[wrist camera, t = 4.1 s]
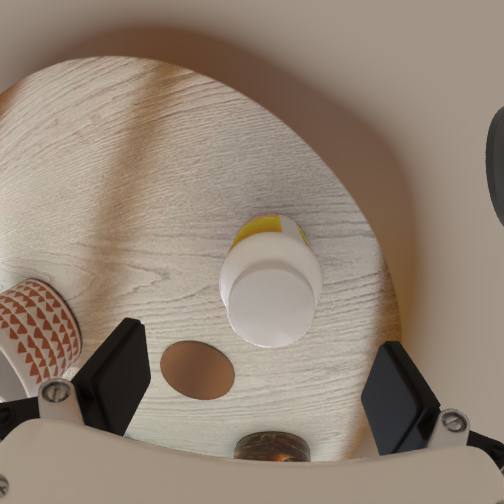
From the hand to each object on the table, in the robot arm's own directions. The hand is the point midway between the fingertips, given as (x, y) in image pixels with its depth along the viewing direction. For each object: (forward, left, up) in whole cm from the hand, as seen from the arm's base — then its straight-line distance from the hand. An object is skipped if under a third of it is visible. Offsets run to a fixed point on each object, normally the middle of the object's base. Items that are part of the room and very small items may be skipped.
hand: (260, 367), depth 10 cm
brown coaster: (+7, +16, -17) cm, 24 cm away
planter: (+30, +14, -18) cm, 37 cm away
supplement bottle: (0, 0, -18) cm, 18 cm away
